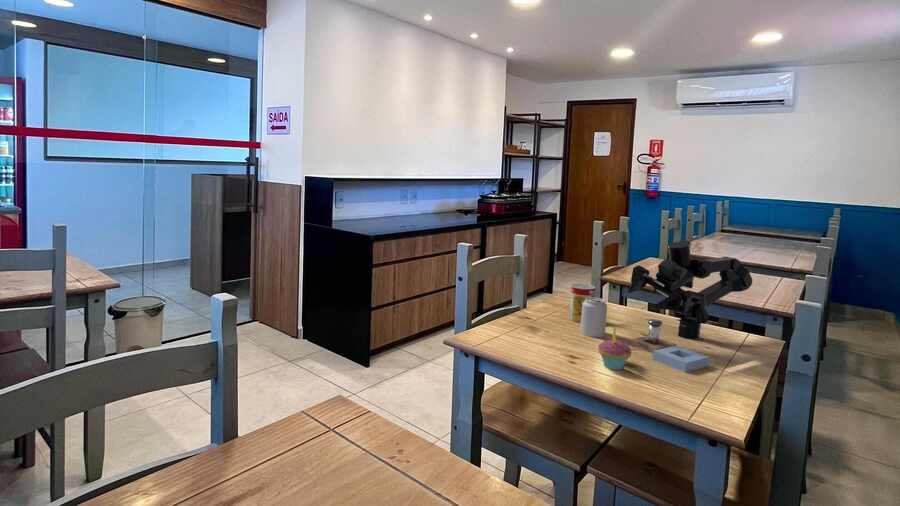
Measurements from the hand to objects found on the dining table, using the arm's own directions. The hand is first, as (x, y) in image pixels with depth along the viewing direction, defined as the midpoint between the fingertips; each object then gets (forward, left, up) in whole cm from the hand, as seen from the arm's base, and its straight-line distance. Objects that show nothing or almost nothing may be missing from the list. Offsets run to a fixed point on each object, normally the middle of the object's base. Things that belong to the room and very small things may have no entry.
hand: (641, 299), depth 152 cm
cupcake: (+16, +6, -16) cm, 23 cm away
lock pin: (-5, +2, -15) cm, 16 cm away
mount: (-5, +2, -16) cm, 16 cm away
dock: (-1, +14, -16) cm, 21 cm away
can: (+2, -15, -16) cm, 22 cm away
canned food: (-8, -30, -16) cm, 35 cm away
